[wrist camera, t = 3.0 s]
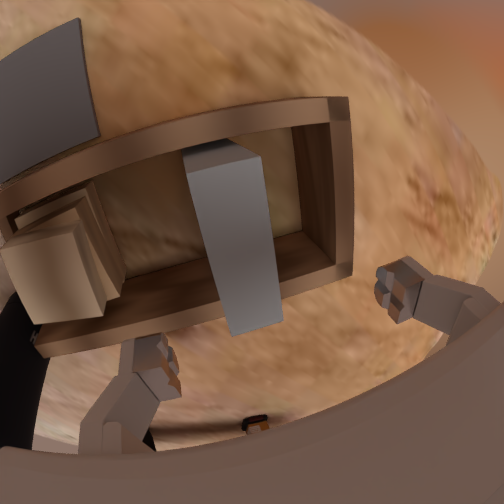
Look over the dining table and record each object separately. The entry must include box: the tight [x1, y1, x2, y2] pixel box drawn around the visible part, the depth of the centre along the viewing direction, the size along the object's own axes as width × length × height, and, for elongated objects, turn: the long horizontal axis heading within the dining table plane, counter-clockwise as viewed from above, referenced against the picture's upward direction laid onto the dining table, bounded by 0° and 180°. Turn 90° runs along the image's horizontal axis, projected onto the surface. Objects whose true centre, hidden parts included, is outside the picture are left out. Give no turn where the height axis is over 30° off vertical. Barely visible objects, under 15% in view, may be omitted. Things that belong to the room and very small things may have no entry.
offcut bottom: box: [14, 181, 127, 283], centre depth 19 cm, size 7×8×2 cm
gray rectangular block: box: [181, 138, 284, 337], centre depth 17 cm, size 3×9×10 cm, turn 9°
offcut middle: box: [10, 196, 124, 301], centre depth 17 cm, size 7×7×2 cm
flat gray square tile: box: [0, 18, 101, 184], centre depth 13 cm, size 10×10×1 cm
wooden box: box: [0, 97, 354, 358], centre depth 18 cm, size 26×13×6 cm, turn 99°
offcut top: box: [0, 219, 107, 324], centre depth 15 cm, size 6×6×2 cm
